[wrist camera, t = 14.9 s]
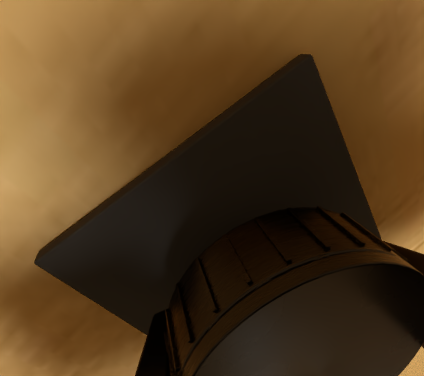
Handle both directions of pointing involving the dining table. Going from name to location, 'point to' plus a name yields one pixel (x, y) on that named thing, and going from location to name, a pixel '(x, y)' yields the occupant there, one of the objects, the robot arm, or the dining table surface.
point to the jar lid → (296, 301)
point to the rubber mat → (211, 195)
